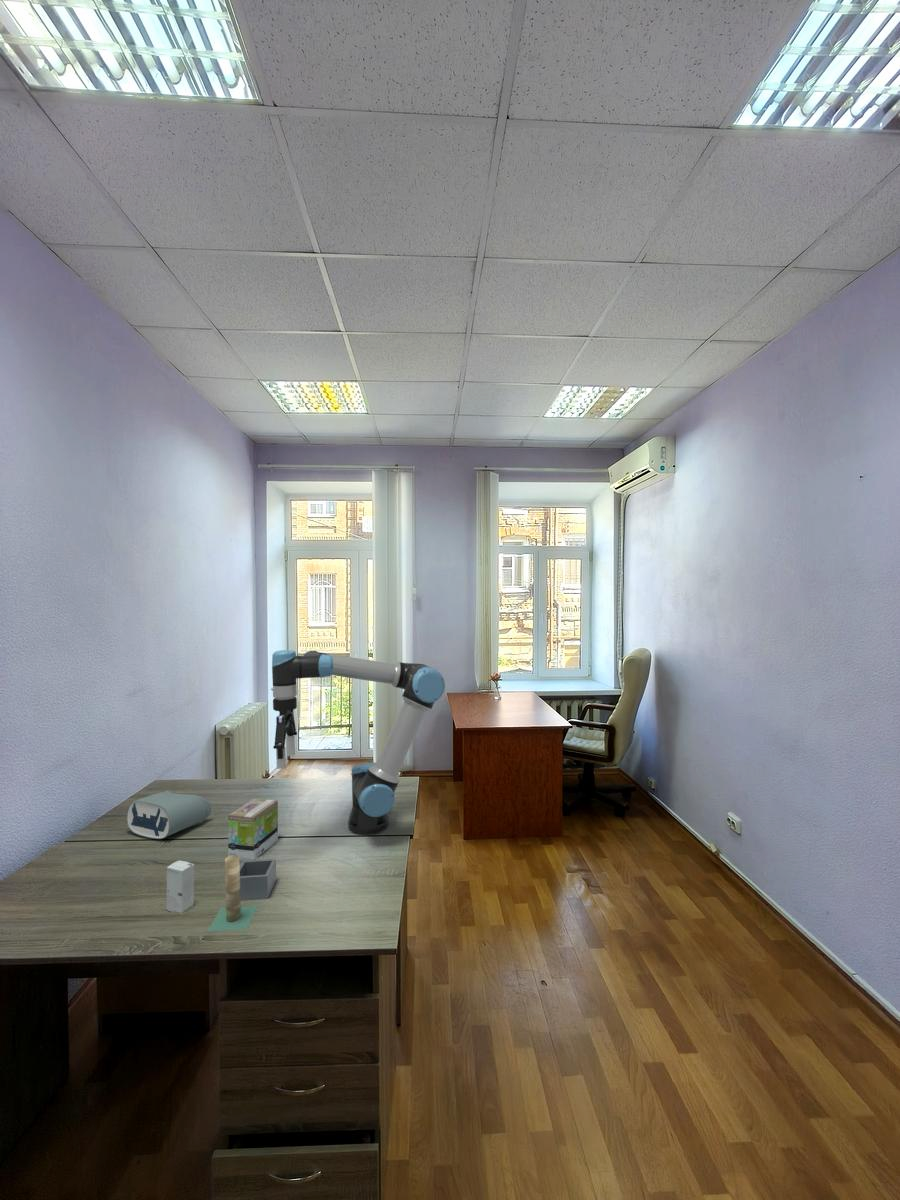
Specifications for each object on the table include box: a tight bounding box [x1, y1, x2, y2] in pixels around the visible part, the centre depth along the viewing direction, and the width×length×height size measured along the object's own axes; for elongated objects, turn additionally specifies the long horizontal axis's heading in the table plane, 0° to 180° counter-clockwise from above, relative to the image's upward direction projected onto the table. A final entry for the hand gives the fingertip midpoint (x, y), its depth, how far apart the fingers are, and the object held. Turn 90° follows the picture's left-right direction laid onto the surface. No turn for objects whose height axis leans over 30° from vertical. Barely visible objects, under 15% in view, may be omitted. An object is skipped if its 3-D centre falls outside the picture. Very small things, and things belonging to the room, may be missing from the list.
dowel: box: [224, 855, 242, 922], centre depth 139 cm, size 4×4×16 cm
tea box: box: [227, 798, 279, 860], centre depth 178 cm, size 15×10×15 cm, turn 168°
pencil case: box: [125, 790, 212, 840], centre depth 196 cm, size 22×19×13 cm
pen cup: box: [240, 858, 277, 902], centre depth 152 cm, size 10×10×7 cm
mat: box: [207, 905, 259, 933], centre depth 139 cm, size 10×10×1 cm
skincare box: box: [166, 860, 195, 914], centre depth 144 cm, size 6×4×12 cm
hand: (286, 761), depth 172 cm, fingers open, 13 cm apart
